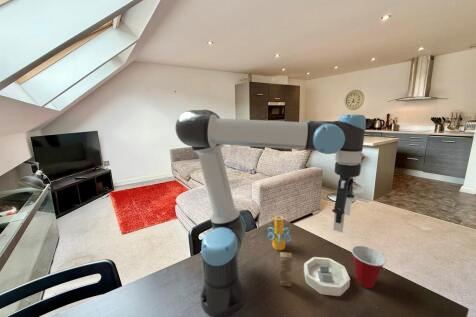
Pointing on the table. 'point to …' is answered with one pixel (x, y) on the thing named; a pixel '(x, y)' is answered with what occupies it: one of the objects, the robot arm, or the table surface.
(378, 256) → the plastic cup
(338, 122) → the robot arm
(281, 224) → the yellow blue ringed piece
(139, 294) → the table surface
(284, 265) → the long cardboard-colored beam
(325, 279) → the white octagonal tray
